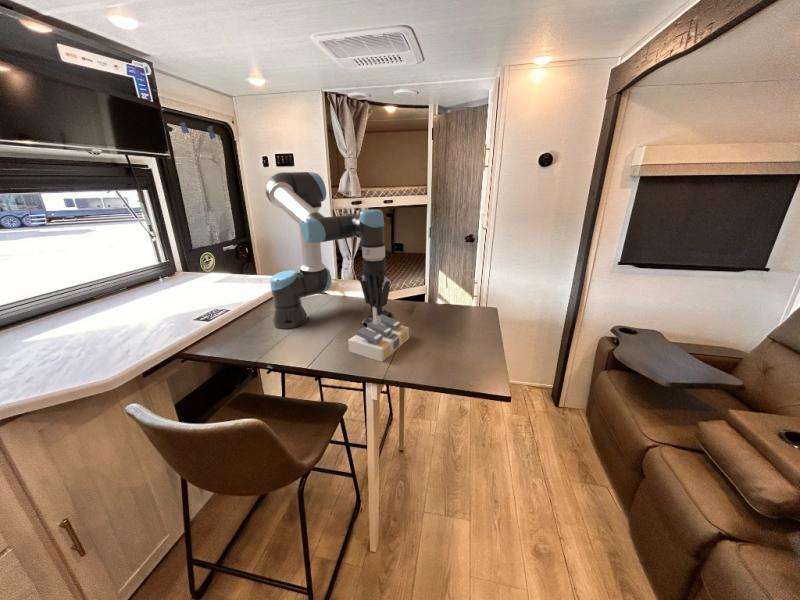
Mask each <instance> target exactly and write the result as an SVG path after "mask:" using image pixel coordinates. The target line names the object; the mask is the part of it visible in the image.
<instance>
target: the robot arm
mask: <svg viewBox="0 0 800 600" xmlns="http://www.w3.org/2000/svg"><path fill="white" fill-rule="evenodd" d="M265 194H266V195H265V196H266V198H267V199H268V201H269V202H270V203H271V204H272V205H273V206H274V207H276V208H280V209H282V211H284V212H285V213H286V214H287V215H288V216H289V217H290V218H292V219H293V221H295V223H296V224H298V230H299V239H300V240H299V241H300V248H301V249H300V250H301V258H302V259H301V261H302V264H301V265H300V266H299V272H297V271H296V270H294V269H292V270H291V269H290V270H283V271H281V272H280V271H279V272H278V273H275V274H274V275H272V276H271V277H270V280H269V283H270V290H271V294H272V300H273V306H274V313H273V318H272V323H273V326H274V327H275V328H277V329H284V330H285V329H286V330H287V329H293V328H298V327H300V326H303V325H304V324H306V323H307V322H308V315H307V312H306V311H305V309H304V307H303V305H302V298H306V297H310V296H314V295H320V294H322V293H326V292H327V291H329V290H330V288H331V286H332V275H331V272H330V270H329V269H328V268H327V267H326V265H325V264H324V263H323V260H322V246H321V243H326V242H331V241H338V240H344V239H351V238H358V239H361V241H360V242H361V250H362V251H361V253H362V258H363V259H362V269H363V271H364V272H363V275H361V276H358V277H357V279H358V281H359V283H360V285H361V290H362V293H363V297H364V301H365V304H366V305H368V304H369V306H370V314H371V315H373V324H376V325H377V324H378V323H380V322H381V315H382V310H383V307H384V306H387V304H388V299H389V295H390V289H391V286H392V284H393V279H389V278H388V277H387V274H386V267H387V265H386V259H385V257H386V244H385V241H386V240H385V221H384V213H383V210H381V209H363V210H361V211H360V212H359V214H356V213H345V214H342V215H337V216H327V217H326V216H324V215H323V214H321V213H320V212H319V210H320V209H321V208H322V202H324V201H325V200H326V199H327V198H326V197H327V187H326V184H325V182H324V179H323V178H322V177H321V176H320V174H318V173H316V172H312V171H311V172H310V171H301V172H300V171H296V172H295V171H294V172H290V171H289V172H286V171H285V172H278V173H276V174H274V175H272V176H270V177H269V179H268V180H267V182H266V184H265Z"/></svg>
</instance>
